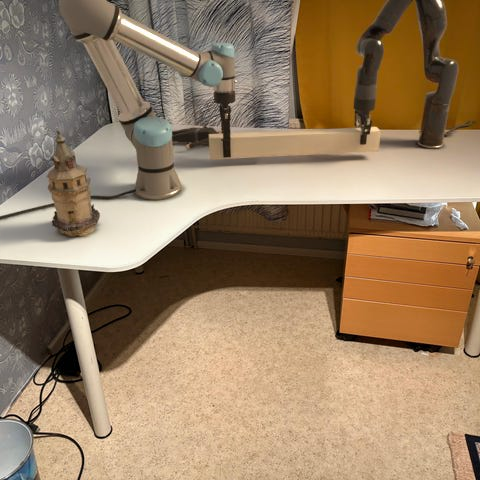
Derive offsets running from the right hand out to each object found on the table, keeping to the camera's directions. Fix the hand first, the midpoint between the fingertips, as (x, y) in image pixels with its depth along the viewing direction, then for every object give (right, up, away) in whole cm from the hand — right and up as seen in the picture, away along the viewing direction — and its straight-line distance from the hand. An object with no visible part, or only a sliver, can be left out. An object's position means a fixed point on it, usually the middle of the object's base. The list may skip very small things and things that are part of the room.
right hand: (360, 141), depth 199 cm
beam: (-25, -4, 0) cm, 25 cm away
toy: (-64, +3, +21) cm, 68 cm away
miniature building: (-92, -33, -43) cm, 107 cm away
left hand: (-50, -5, -2) cm, 50 cm away
